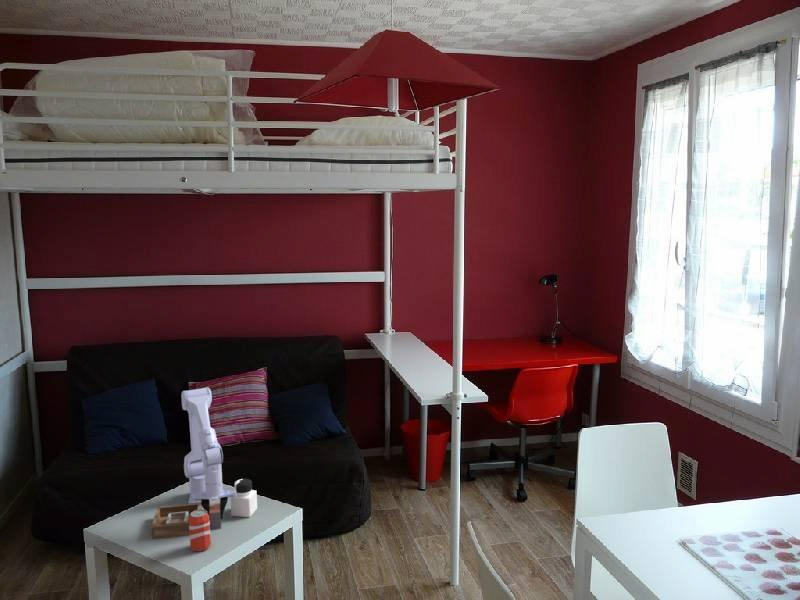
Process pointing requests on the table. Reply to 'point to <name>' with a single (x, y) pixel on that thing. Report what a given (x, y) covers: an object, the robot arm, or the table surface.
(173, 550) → the table surface
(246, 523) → the table surface
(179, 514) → the walled box
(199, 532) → the beverage can
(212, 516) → the rectangular block
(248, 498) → the medicine bottle
